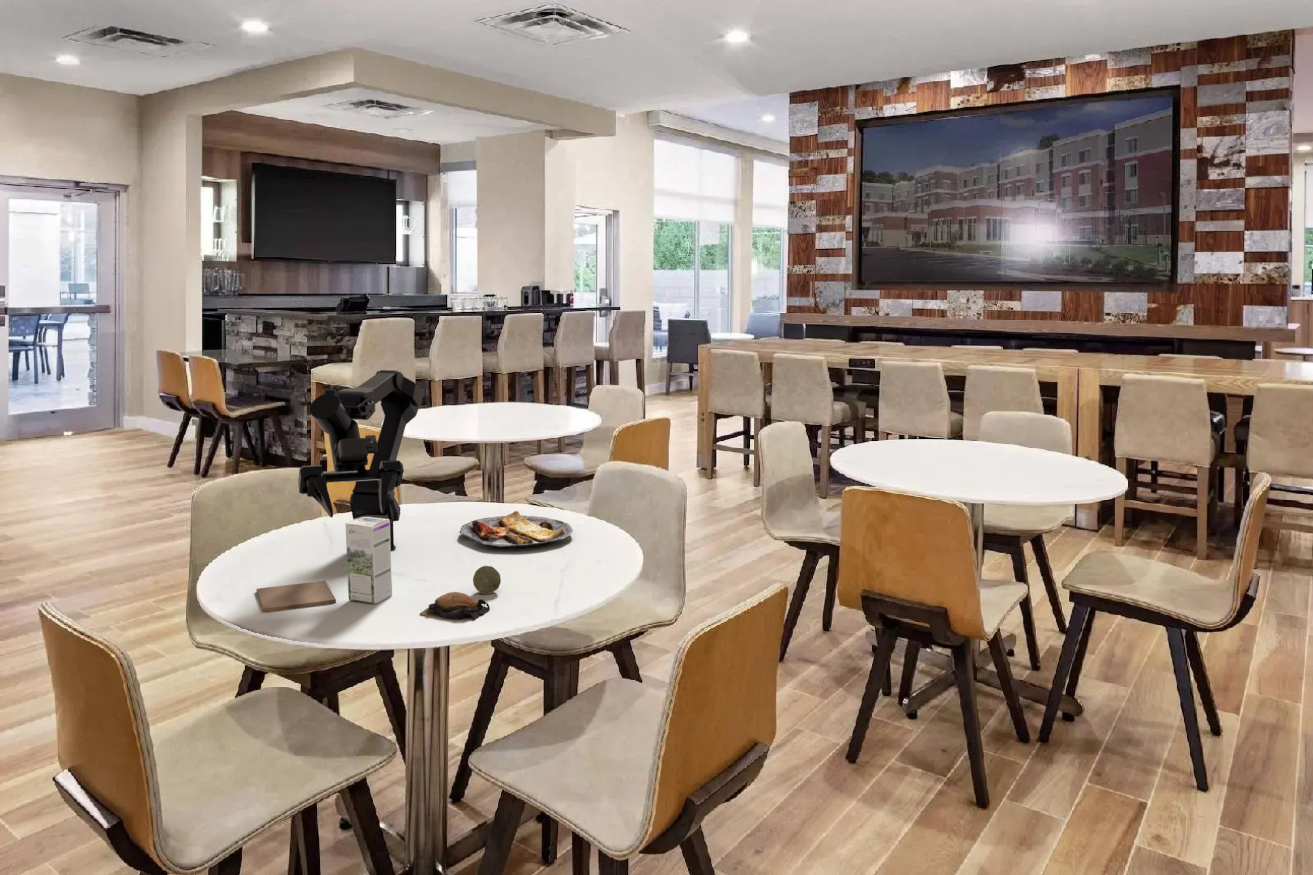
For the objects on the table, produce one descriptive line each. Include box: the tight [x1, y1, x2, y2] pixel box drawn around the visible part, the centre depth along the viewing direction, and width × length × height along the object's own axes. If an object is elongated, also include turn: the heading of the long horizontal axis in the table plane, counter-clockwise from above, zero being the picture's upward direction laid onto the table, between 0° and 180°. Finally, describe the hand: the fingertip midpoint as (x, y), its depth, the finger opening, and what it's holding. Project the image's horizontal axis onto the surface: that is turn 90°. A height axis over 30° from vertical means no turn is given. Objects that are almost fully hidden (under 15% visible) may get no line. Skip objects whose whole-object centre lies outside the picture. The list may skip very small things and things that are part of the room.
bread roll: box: [419, 591, 491, 621], centre depth 171 cm, size 11×8×4 cm
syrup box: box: [345, 517, 393, 605], centre depth 176 cm, size 6×6×14 cm
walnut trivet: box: [256, 580, 337, 613], centre depth 177 cm, size 12×12×1 cm
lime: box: [472, 565, 502, 595], centre depth 181 cm, size 4×5×5 cm
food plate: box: [459, 510, 574, 548], centre depth 221 cm, size 25×23×4 cm
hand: (357, 514), depth 182 cm, fingers open, 9 cm apart
